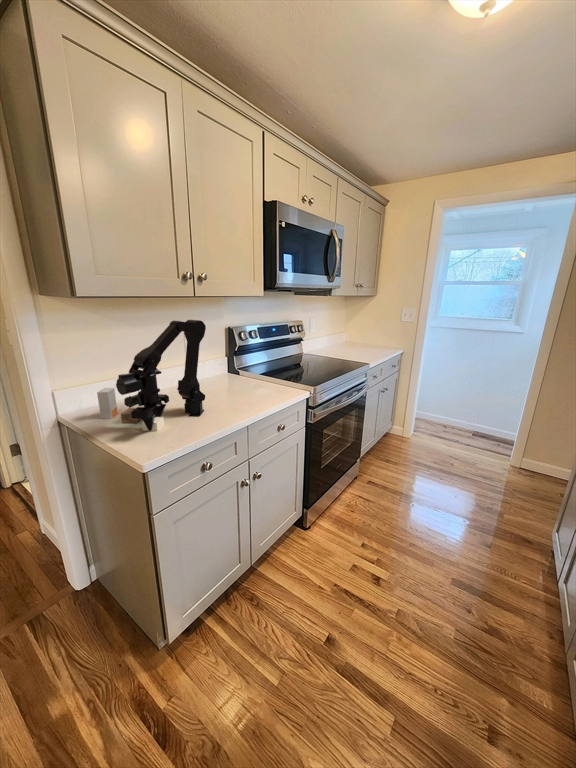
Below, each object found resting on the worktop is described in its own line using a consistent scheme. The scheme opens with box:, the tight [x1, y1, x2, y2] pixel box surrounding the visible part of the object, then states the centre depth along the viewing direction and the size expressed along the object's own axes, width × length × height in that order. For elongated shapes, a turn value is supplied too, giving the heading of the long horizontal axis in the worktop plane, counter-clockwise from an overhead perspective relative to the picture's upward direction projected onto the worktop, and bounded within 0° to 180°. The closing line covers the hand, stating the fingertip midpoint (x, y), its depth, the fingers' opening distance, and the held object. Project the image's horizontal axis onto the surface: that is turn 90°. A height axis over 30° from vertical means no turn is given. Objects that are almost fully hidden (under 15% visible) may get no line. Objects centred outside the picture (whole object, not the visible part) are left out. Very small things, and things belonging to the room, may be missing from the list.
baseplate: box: [106, 416, 143, 429], centre depth 125 cm, size 14×14×1 cm
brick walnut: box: [120, 407, 142, 424], centre depth 125 cm, size 6×6×4 cm
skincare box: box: [96, 387, 119, 420], centre depth 128 cm, size 6×4×12 cm
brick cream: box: [142, 416, 165, 432], centre depth 119 cm, size 6×6×4 cm
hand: (153, 427), depth 119 cm, fingers closed on brick cream, 5 cm apart
